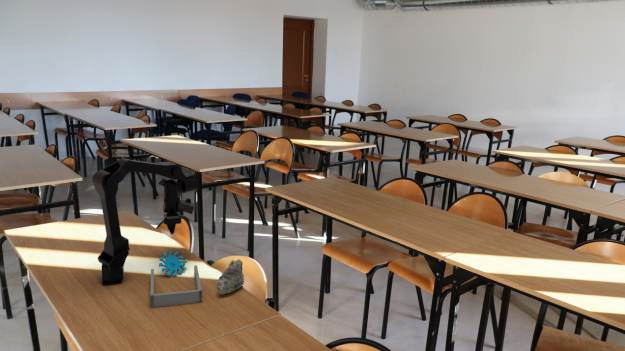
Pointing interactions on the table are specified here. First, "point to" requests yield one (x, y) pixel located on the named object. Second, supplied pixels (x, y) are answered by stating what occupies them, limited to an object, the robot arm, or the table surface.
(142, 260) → the table surface
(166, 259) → the gear
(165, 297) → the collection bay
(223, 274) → the mineral rock
